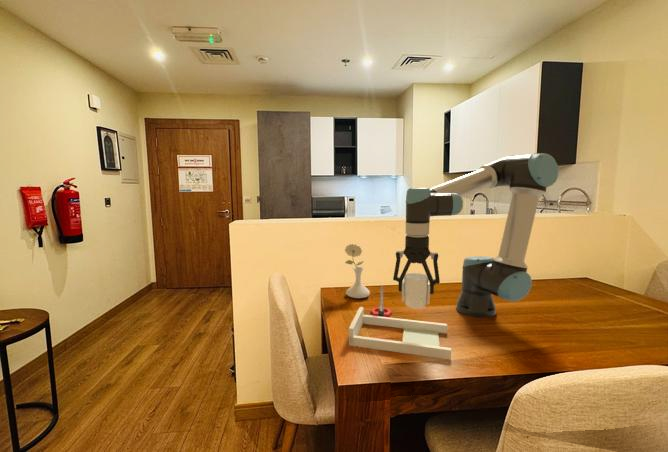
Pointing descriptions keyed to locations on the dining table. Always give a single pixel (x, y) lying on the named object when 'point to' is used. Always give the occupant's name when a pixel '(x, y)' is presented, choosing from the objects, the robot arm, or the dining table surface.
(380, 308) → the red ring on peg
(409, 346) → the bay
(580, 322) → the dining table surface
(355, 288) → the flower in vase
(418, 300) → the white cup
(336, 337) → the dining table surface
